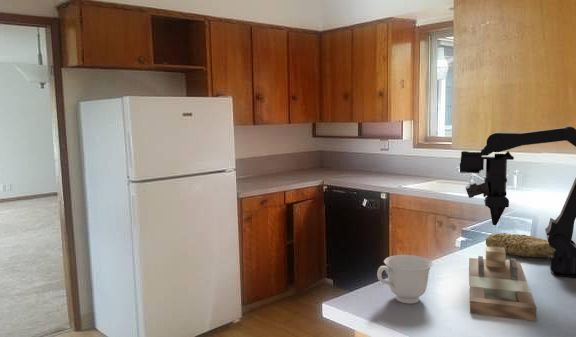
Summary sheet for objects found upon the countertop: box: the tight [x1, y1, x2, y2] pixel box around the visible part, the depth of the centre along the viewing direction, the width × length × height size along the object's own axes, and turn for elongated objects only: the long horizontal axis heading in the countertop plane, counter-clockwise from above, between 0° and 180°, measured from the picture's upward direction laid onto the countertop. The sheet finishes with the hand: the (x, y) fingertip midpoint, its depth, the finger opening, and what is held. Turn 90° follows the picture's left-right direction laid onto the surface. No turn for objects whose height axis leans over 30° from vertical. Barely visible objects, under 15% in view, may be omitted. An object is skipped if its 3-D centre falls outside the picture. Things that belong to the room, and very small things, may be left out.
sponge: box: [485, 232, 556, 258], centre depth 156 cm, size 13×8×20 cm
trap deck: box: [468, 255, 537, 322], centre depth 125 cm, size 14×35×6 cm, turn 159°
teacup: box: [376, 254, 434, 305], centre depth 120 cm, size 12×15×10 cm
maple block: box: [485, 246, 507, 268], centre depth 137 cm, size 5×5×4 cm
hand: (494, 224), depth 144 cm, fingers closed
